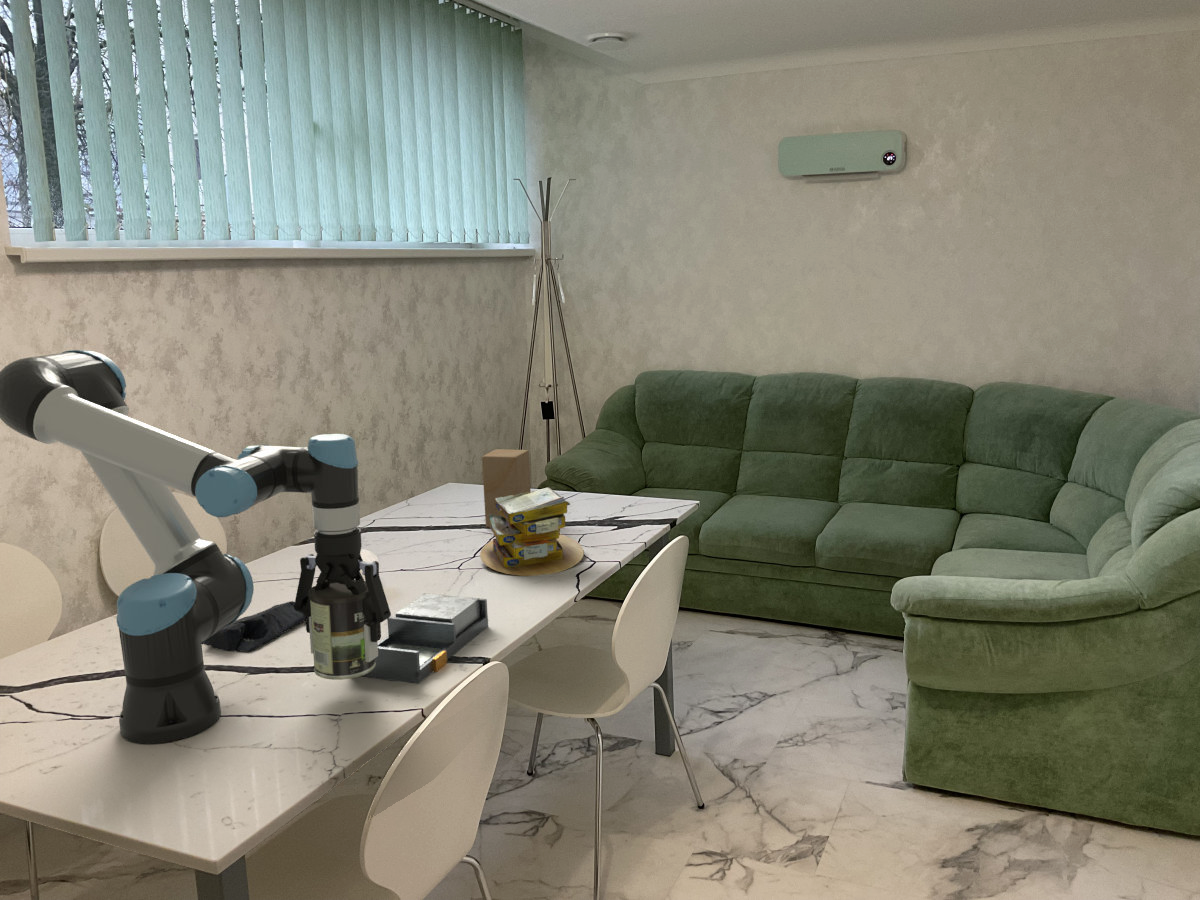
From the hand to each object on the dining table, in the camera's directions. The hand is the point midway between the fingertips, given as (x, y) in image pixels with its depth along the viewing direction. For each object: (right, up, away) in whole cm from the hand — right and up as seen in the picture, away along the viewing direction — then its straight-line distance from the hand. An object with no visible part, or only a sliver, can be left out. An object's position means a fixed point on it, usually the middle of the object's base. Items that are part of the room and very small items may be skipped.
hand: (344, 654), depth 170 cm
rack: (+10, -3, +20) cm, 22 cm away
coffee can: (0, -3, +1) cm, 3 cm away
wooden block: (+18, +14, +106) cm, 109 cm away
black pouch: (-26, -2, +33) cm, 42 cm away
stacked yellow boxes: (+27, +8, +73) cm, 79 cm away
